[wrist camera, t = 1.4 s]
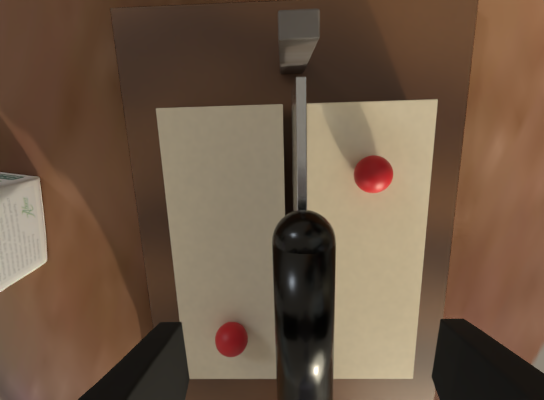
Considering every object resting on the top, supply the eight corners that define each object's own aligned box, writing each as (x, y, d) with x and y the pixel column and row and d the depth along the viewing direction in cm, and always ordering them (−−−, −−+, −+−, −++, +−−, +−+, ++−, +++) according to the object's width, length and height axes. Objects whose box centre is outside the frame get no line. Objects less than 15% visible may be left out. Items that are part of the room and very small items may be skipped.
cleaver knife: (315, 391, 17) (334, 545, 11) (281, 392, 17) (280, 543, 11) (316, 89, 13) (345, 66, 7) (272, 91, 13) (264, 69, 7)
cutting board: (427, 391, 22) (513, 551, 14) (167, 391, 23) (103, 544, 15) (468, -2, 16) (655, -122, 8) (118, 13, 17) (-33, -84, 9)
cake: (392, 337, 20) (425, 403, 16) (200, 338, 21) (176, 403, 16) (408, 102, 17) (457, 96, 12) (178, 110, 17) (140, 106, 13)
